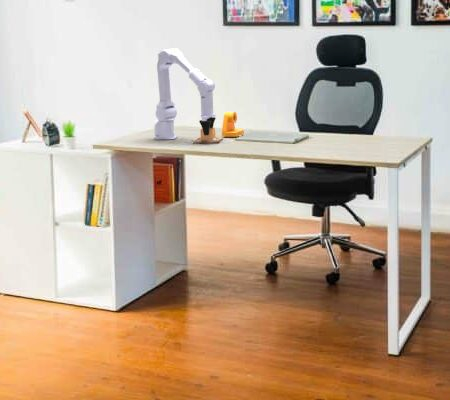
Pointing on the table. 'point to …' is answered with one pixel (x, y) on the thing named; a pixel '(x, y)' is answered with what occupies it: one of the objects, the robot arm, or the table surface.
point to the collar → (208, 137)
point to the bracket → (230, 125)
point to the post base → (208, 141)
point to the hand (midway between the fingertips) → (208, 133)
